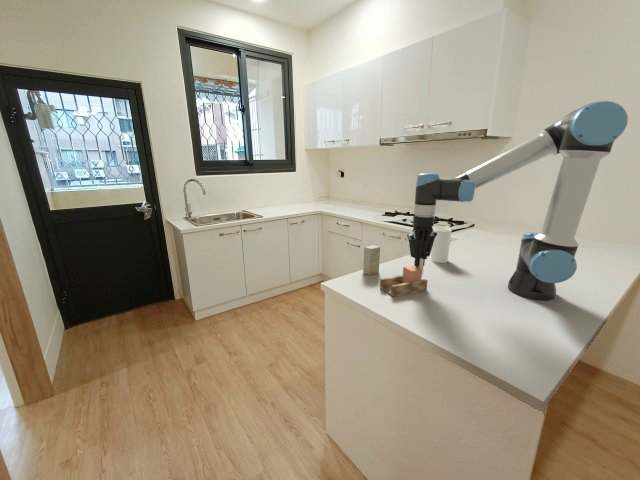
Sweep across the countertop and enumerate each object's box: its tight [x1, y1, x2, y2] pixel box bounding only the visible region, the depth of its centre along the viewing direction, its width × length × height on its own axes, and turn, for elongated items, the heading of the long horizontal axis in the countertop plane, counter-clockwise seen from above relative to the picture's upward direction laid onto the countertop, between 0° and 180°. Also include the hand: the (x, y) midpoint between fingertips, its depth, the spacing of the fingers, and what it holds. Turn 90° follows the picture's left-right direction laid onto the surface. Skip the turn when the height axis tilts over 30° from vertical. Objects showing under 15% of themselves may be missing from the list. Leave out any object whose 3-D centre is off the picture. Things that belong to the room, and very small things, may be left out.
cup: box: [429, 227, 452, 264], centre depth 147 cm, size 8×8×16 cm
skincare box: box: [362, 244, 381, 276], centre depth 131 cm, size 6×4×12 cm
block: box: [402, 265, 423, 283], centre depth 116 cm, size 5×5×8 cm
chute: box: [379, 274, 428, 298], centre depth 115 cm, size 16×8×4 cm, turn 113°
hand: (418, 273), depth 117 cm, fingers closed
